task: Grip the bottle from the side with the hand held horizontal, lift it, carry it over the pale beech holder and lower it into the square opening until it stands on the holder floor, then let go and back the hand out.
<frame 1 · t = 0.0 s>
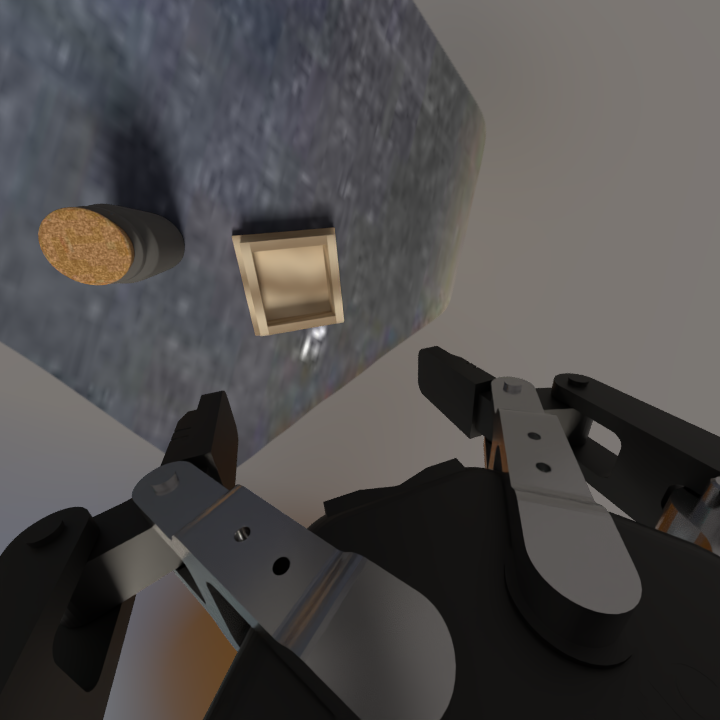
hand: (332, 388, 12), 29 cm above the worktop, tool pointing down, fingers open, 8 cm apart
bottle: (155, 242, 32), on the worktop
bottle holder: (293, 281, 38), on the worktop
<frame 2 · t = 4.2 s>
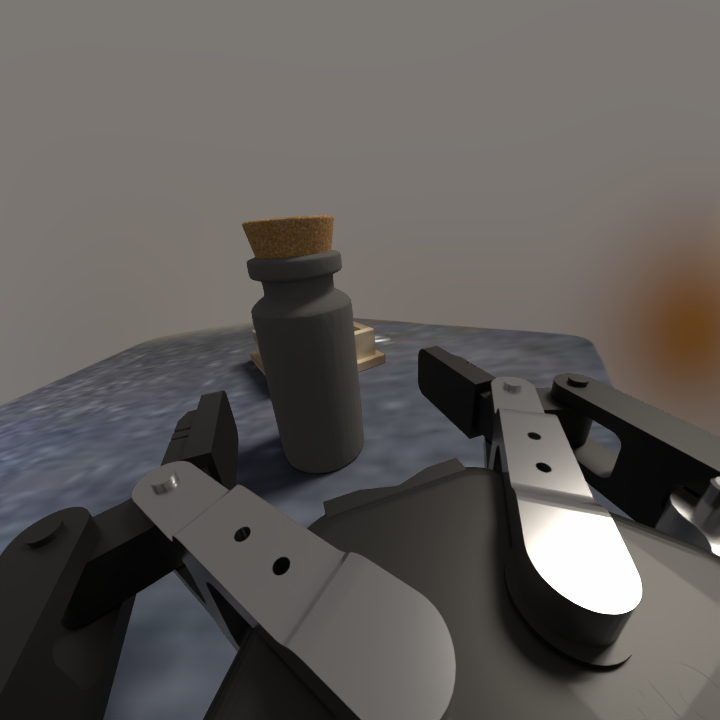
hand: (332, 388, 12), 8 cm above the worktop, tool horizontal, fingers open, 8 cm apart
bottle: (325, 446, 22), on the worktop
bottle holder: (315, 361, 35), on the worktop
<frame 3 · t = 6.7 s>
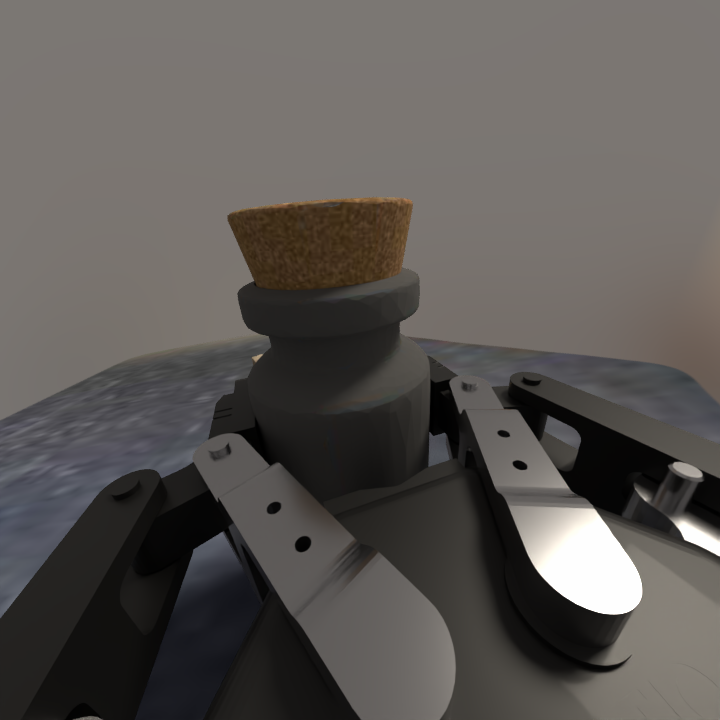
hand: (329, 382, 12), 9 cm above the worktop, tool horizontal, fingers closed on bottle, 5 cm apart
bottle: (362, 563, 14), on the worktop, touching gripper
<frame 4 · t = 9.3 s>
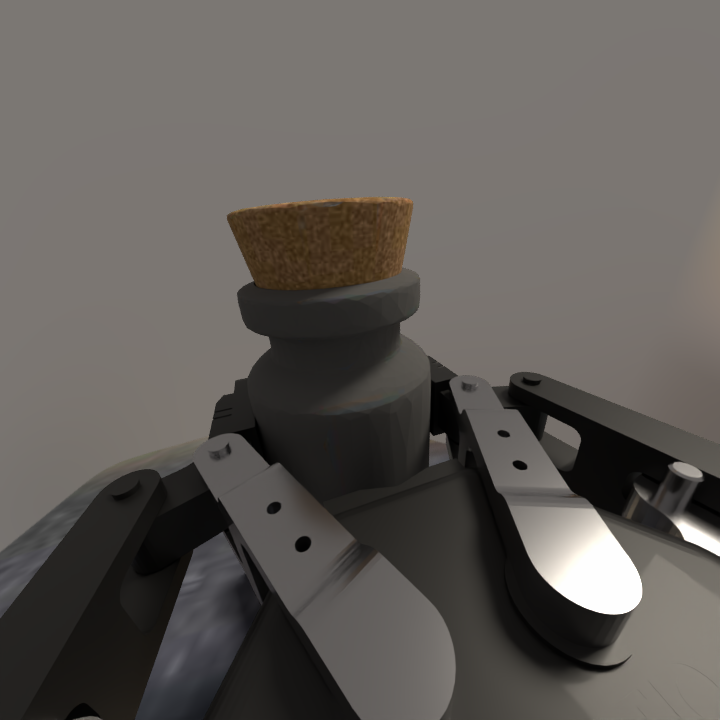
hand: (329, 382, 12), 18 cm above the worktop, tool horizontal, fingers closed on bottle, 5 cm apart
bottle: (362, 564, 14), point 9 cm above the worktop, touching gripper
when the fingers open (11 cm above the worktop, at t = 12.2 s): bottle drops 1 cm, resting on bottle holder.
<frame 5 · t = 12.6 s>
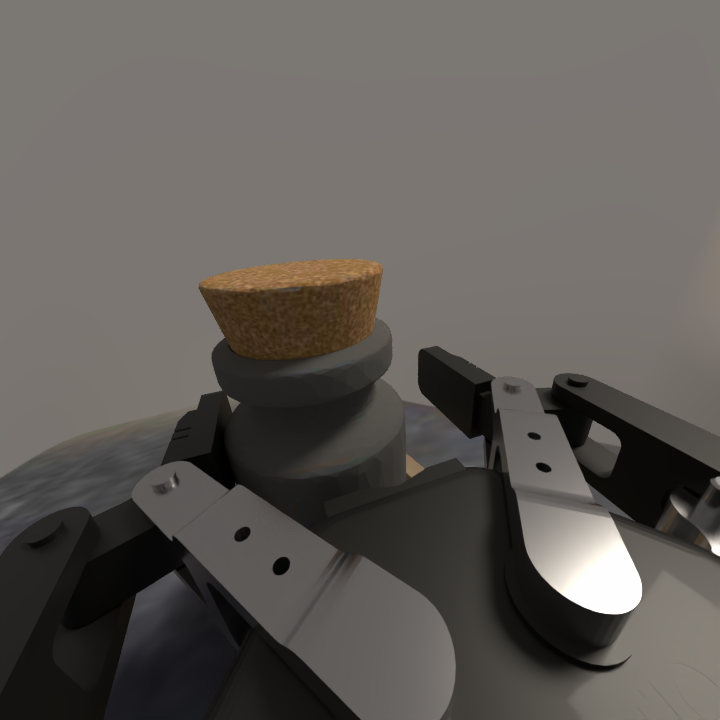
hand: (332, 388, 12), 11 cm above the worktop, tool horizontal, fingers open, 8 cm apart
bottle: (346, 594, 14), point 1 cm above the worktop, touching bottle holder, gripper
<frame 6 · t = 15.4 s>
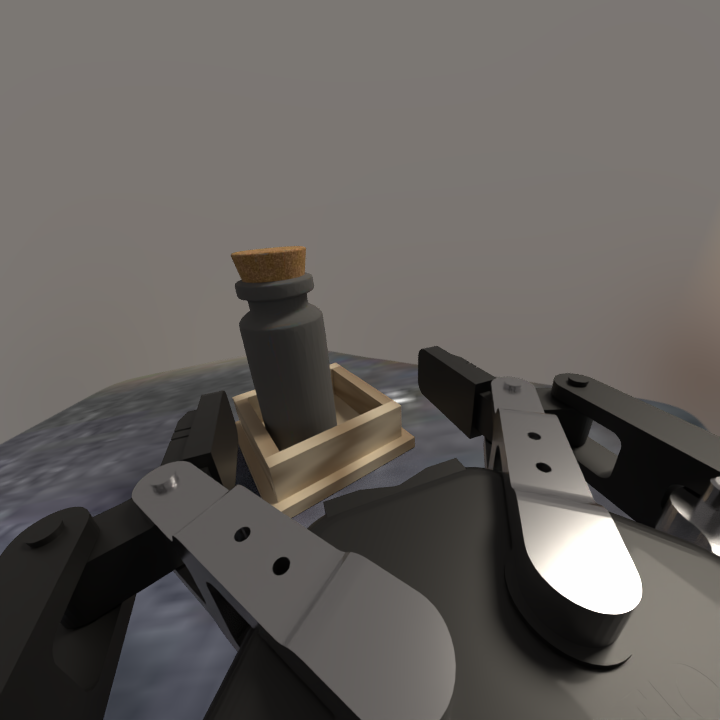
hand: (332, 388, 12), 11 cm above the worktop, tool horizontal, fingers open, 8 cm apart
bottle: (304, 436, 25), point 1 cm above the worktop, touching bottle holder
bottle holder: (317, 439, 26), on the worktop
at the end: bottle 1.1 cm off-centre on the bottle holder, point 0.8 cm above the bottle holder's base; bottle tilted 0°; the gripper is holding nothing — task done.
